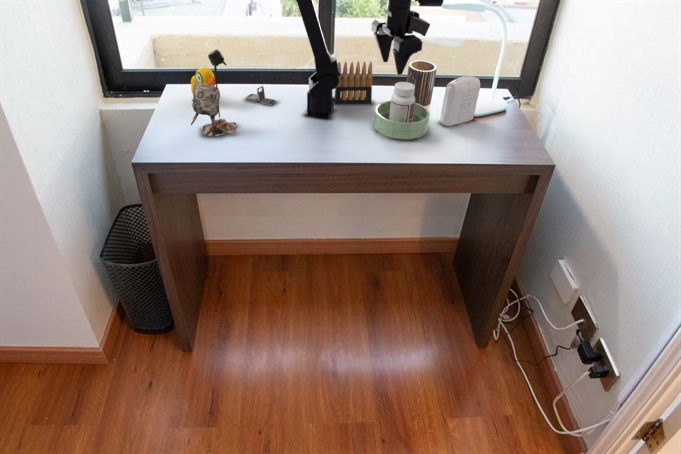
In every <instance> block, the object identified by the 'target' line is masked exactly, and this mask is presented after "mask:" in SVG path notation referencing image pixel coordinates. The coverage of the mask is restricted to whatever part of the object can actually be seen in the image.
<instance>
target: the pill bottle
mask: <svg viewBox="0 0 681 454" xmlns="http://www.w3.org/2000/svg"><path fill="white" fill-rule="evenodd" d="M415 90H416V86H415V84H414V83H412V82H408V81H398V82H396V83H394V87H393V93H392V95H391V98H390V101H391V106H390V115H389V120H392V121H395V122H402V123H412V121H413V114H414V106H415V103H416V97H415Z"/></svg>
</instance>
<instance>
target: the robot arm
mask: <svg viewBox="0 0 681 454" xmlns="http://www.w3.org/2000/svg"><path fill="white" fill-rule="evenodd" d="M295 2H296V3H297V6H298V9H299V10H298V11H299V13H300V16H301V20H302V22H303V27H304V28H305V31H306V36H307V38H308V41H309V45H310V48H311V51H312V55H313V58H314V59H313V60H314V66H315V72H314V73H312V75H311V76H310V77H309V78H308V90H307V92H306V111H305V112H304V116H305V117H312V118H319V119H325V120H328V119H329V118H330V117H331V115H332V114H333V112H334V111H335V103H334V96H333V90H335V88H336V87H337V85H338V84H339V76H341V77H342V72H341V73H340V67H339V65H338V60H337V55H336V52H334V53H333V54H331V52H330V51H329V49H328V47H327V44H326V40H325V37H324V34H323V30H322V27H321V24H320V20H319V16H318V14H317V13H318V12H317V10H316V7H315V3H314V0H295ZM413 2H414V3H415V2H416V4H417V7H442V6H443V4H444V0H413ZM411 7H412V0H387V4H386V7H383V13H384V14H386V16H385V18H375V19H373V21H372V22H371V26H370V27H371V31H372V32H373V33H372V35H373V36H374V39H375V42H376V44H377V47H378V51H379V52H380V55H381V59H382V62H383V63H388V62H389V58H390V55H391V54H390V53H391V49H392V53H393V59H394V64H395V69H396V73H397V75H398V76H399V75H400V76H401V75H402V74H403V72H404V71H405V68H406V66H407V64H408V62H409V60H410V58H411V56H413V55H414V54H417V53H418V52H422V50H423V43H424V42H423V41H422V40H421V38H419V37H418V36H416V35H415V34H414V33H416V34H419V35H421V36H423V37H426V36H427V33H428V31H429V30H430V29H429V28H430V26H431V23H429V22H428V21H427V20H425V19H423V18H421V17H420V13H419V12H417V11H415V10H412V9H411ZM392 45H393V48H392Z"/></svg>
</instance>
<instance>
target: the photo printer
mask: <svg viewBox="0 0 681 454" xmlns="http://www.w3.org/2000/svg"><path fill="white" fill-rule="evenodd" d="M480 90H481V81H480V79H479V77H476V76H472V75H465V76H461V77H458V78H455V79H453V80H451V81H450V82H448V83H447V85H446V86H445V91H444V96H443V102H442V107H441V113H440V119H439V121H440V123H441V124H442V125H444V126H446V127H450V126H454V125H458V124H462V123H467V122H470V121H472V120H473V119H474V116H475V112H476V107H477V103H478V98H479V93H480Z"/></svg>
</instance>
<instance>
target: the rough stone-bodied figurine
mask: <svg viewBox="0 0 681 454" xmlns="http://www.w3.org/2000/svg"><path fill="white" fill-rule="evenodd" d="M207 57H208V60H209V62H210V64H211V65H212V66H213V69H214V77H215V83H216V85H214V86H212V85H207V84H203V83H198V84H195V85H194V87H193V94H192V99H191V102H192V104H191V106H192V110H193V111H194V113H195V114H194V116H193V118H192V120H191V122H190V126H193V125H194V123H195V121H197V119H198V116H199V115H203V116H208V117H209V118H210V120H211V123H205V124H203V125H202V133H203V136H204V137H217V136H222V135H223V134H228V133H232V134H235V133H236V132H237V131H236V130H237V128H238V126H237V122H234V121H233V122H231V121H230V122H228V121H227V120H226V119H225V118H221V113H220V112H221V111H220V99H221V91H220V89H219V87H218V78H217V77H218V76H217V74H218V73H217V71H218V69H217V67H218V66H220V65H222V64H223V65H224V66H227V63H226V61H225V57H224V55H223V54H222V53H221V51H220V50H219V49H214V50H213V51H211V52H210V53H208V55H207ZM217 115H218V117H219V119H216V116H217Z"/></svg>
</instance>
